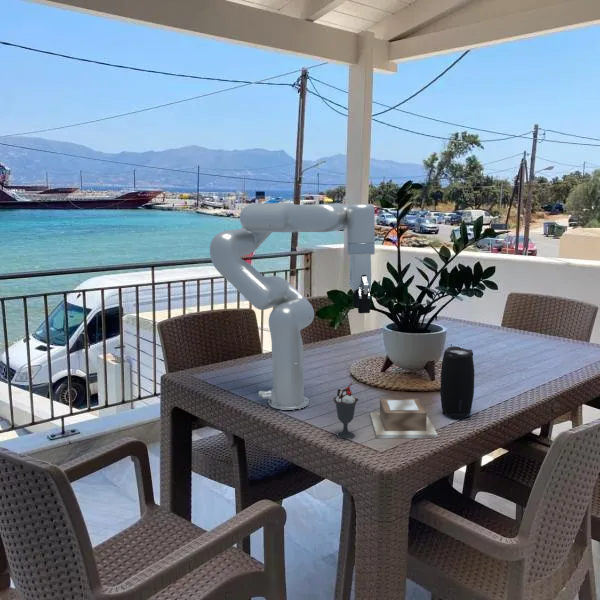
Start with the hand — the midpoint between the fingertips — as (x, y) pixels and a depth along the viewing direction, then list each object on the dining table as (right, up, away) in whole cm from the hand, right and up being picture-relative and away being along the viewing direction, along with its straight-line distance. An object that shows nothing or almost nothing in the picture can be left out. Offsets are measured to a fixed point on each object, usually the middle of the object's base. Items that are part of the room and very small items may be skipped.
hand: (361, 309), depth 161 cm
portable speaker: (+28, -31, +5) cm, 42 cm away
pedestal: (+11, -32, -3) cm, 34 cm away
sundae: (-5, -34, -9) cm, 35 cm away
